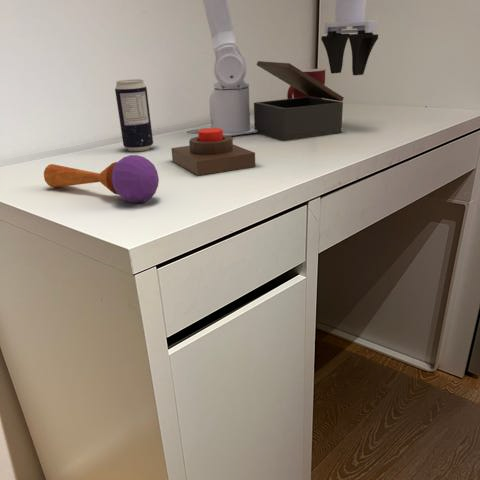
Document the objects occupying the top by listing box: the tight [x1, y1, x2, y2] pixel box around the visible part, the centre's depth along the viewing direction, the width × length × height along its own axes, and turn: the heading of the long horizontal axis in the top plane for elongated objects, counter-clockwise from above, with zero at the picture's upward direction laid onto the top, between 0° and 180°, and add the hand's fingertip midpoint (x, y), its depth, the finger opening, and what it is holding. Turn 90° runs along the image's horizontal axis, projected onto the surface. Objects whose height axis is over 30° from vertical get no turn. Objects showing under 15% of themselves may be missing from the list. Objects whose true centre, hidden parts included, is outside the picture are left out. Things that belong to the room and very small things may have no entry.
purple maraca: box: [43, 154, 160, 204], centre depth 70 cm, size 6×6×20 cm
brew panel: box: [170, 135, 256, 176], centre depth 84 cm, size 12×10×4 cm
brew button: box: [197, 127, 223, 142], centre depth 82 cm, size 4×4×2 cm
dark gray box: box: [253, 97, 344, 142], centre depth 105 cm, size 14×13×6 cm
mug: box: [286, 68, 326, 99], centre depth 123 cm, size 11×8×10 cm
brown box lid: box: [256, 60, 345, 102], centre depth 102 cm, size 14×13×1 cm
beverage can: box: [114, 78, 154, 152], centre depth 95 cm, size 6×6×12 cm
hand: (346, 74), depth 103 cm, fingers open, 7 cm apart
